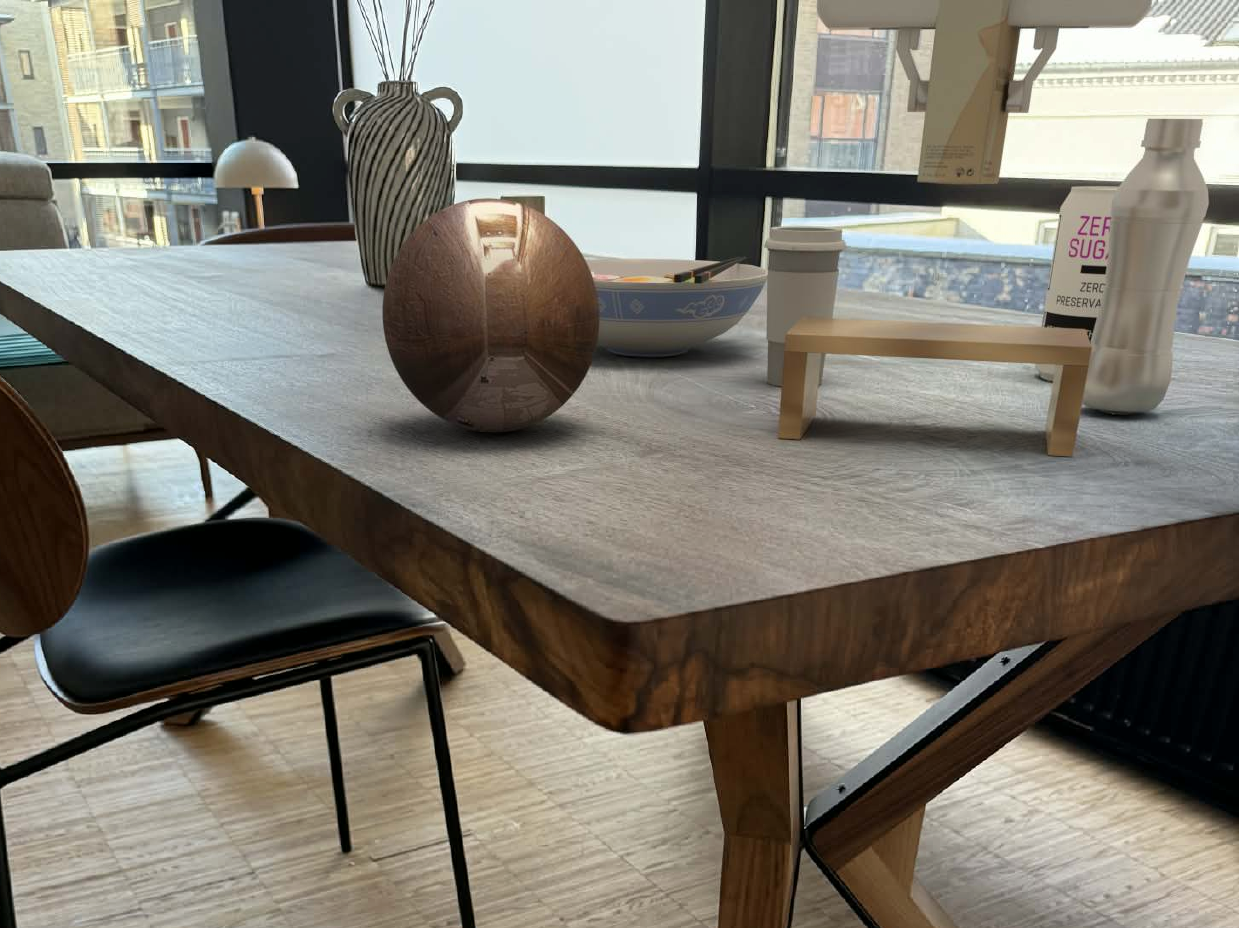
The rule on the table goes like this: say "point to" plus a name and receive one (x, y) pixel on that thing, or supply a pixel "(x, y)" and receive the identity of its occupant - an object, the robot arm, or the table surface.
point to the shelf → (936, 343)
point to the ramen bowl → (670, 302)
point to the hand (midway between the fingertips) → (966, 112)
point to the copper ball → (491, 315)
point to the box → (968, 92)
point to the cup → (799, 284)
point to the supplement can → (1078, 263)
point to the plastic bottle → (1146, 270)
